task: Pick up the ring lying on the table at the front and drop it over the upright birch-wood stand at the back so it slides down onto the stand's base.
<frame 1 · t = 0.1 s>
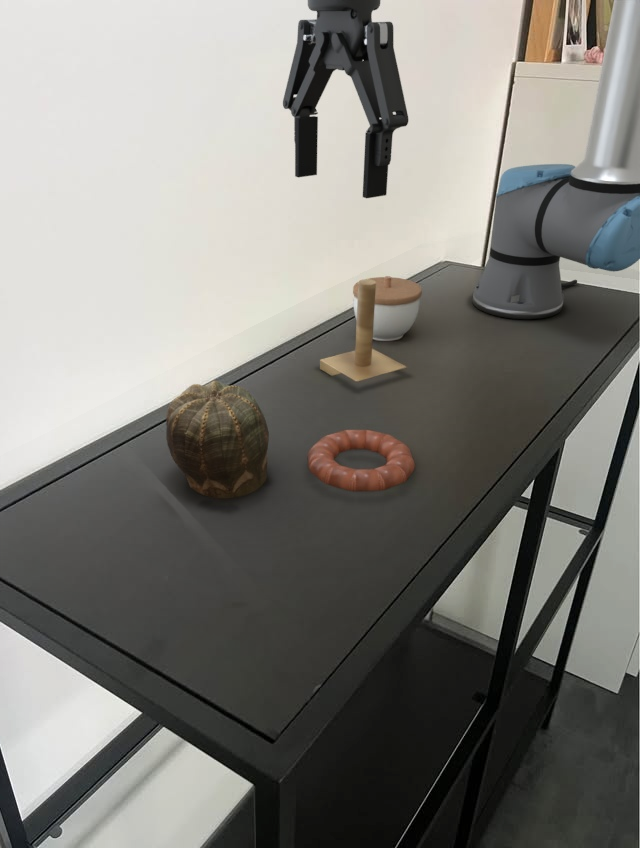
hand: (338, 185, 89), 28 cm above the table, tool pointing down, fingers open, 13 cm apart
trinket box: (384, 335, 125), on the table
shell: (221, 488, 86), on the table
ring: (360, 461, 88), point 1 cm above the table
stand: (362, 372, 112), on the table
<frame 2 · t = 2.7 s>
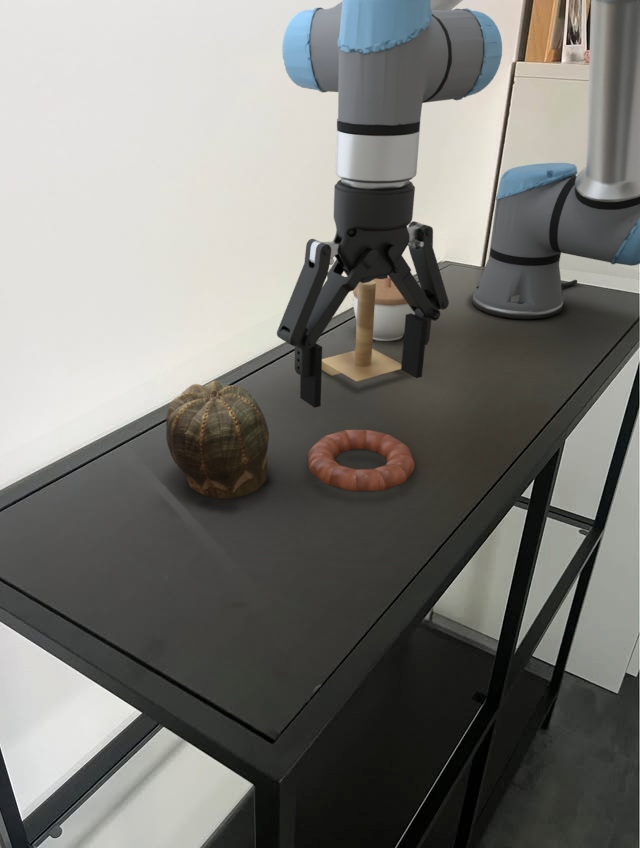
hand: (362, 387, 83), 11 cm above the table, tool pointing down, fingers open, 13 cm apart
nothing on the table moved.
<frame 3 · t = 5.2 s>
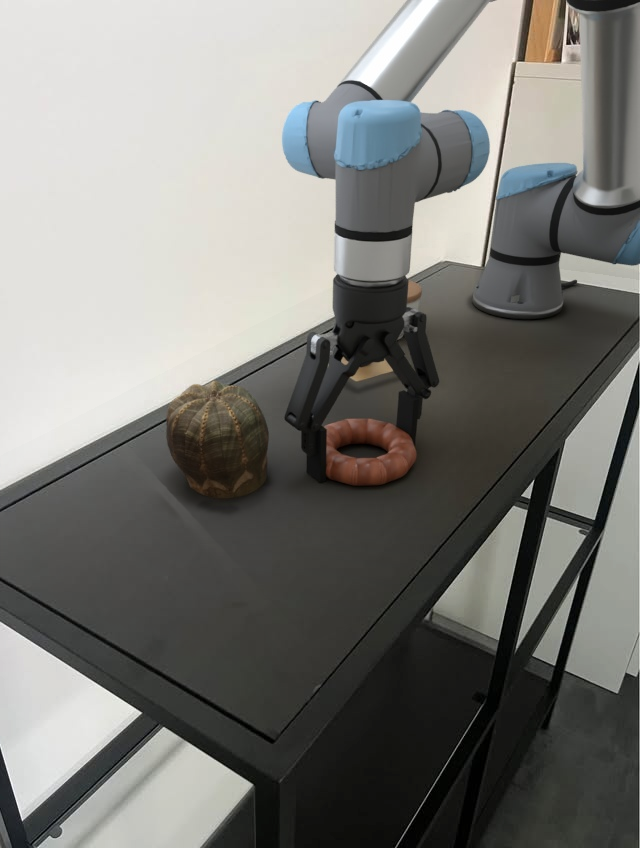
hand: (361, 460, 88), 2 cm above the table, tool pointing down, fingers closed on ring, 12 cm apart
ring: (362, 450, 87), point 3 cm above the table, touching gripper
everything else where it was.
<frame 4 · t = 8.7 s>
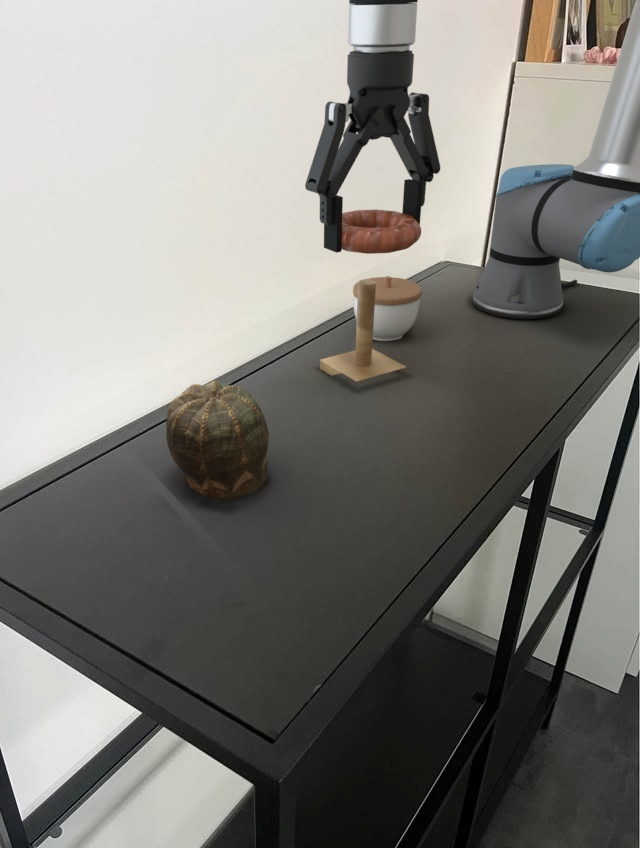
hand: (372, 241, 99), 20 cm above the table, tool pointing down, fingers closed on ring, 12 cm apart
ring: (372, 230, 98), point 21 cm above the table, touching gripper
everything else where it was.
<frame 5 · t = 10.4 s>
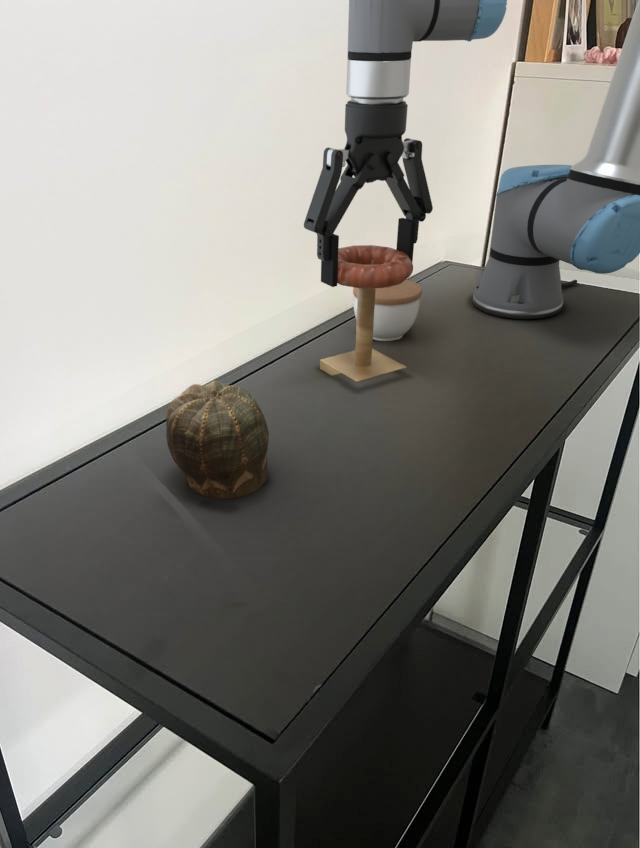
hand: (367, 275, 104), 14 cm above the table, tool pointing down, fingers closed on ring, 12 cm apart
ring: (367, 266, 104), point 16 cm above the table, touching gripper
everything else where it was.
when the fingers open (11 cm above the table, at t = 12.1 s): ring drops 9 cm, resting on stand.
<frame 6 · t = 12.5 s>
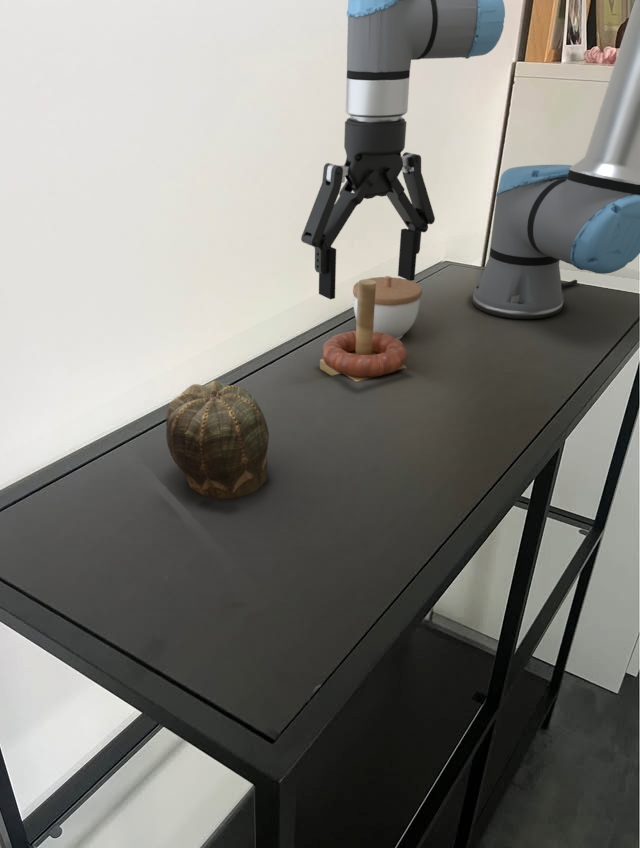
hand: (367, 287, 105), 13 cm above the table, tool pointing down, fingers open, 13 cm apart
ring: (364, 353, 110), point 3 cm above the table, touching stand
everything else where it was.
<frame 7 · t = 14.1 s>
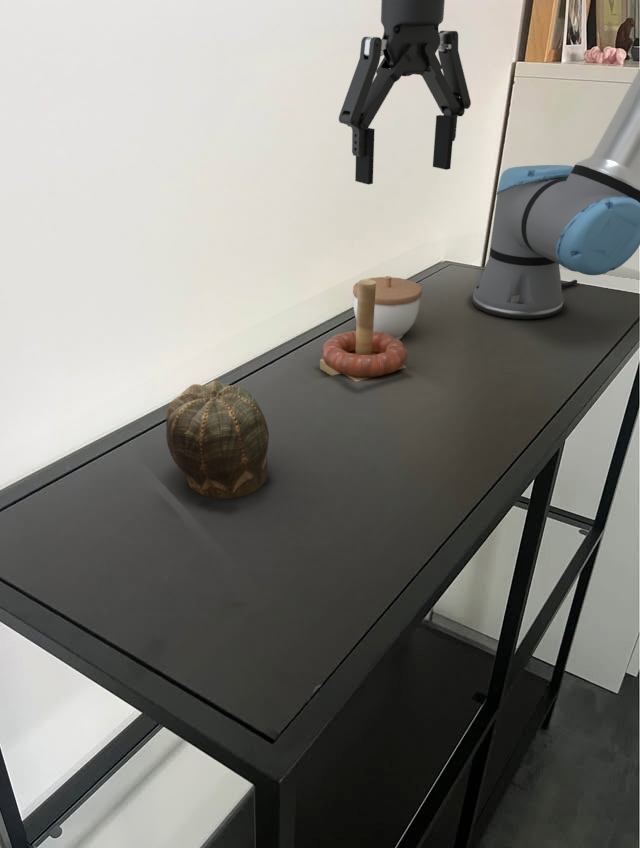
hand: (403, 175, 103), 26 cm above the table, tool pointing down, fingers open, 13 cm apart
nothing on the table moved.
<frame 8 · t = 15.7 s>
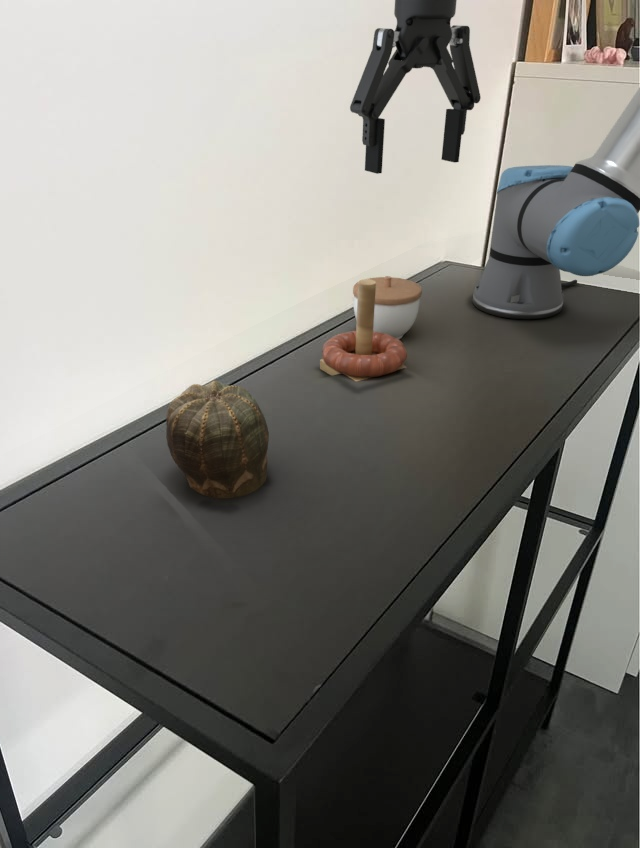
hand: (412, 166, 105), 27 cm above the table, tool pointing down, fingers open, 13 cm apart
nothing on the table moved.
at the end: ring 0.2 cm off-centre on the stand, point 3.0 cm above the stand's base; the gripper is holding nothing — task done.
